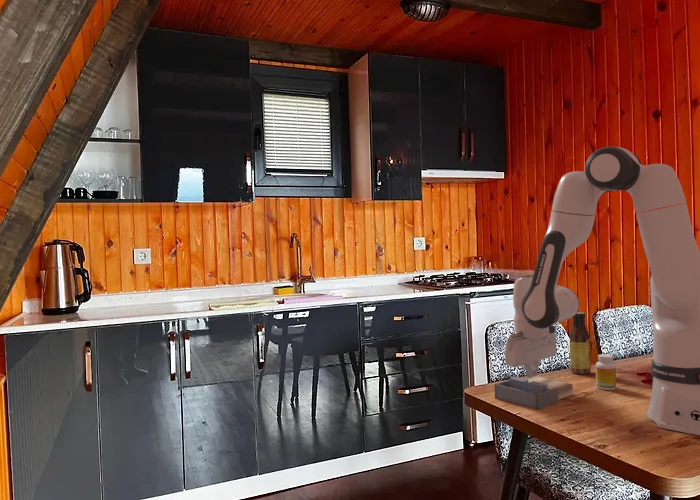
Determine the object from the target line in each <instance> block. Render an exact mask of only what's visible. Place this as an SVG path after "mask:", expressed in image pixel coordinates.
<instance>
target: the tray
mask: <svg viewBox="0 0 700 500" xmlns="http://www.w3.org/2000/svg"><path fill="white" fill-rule="evenodd" d="M494 398H495V399H498V400H501V401H506V402H507V403H511V404H515V405H519V406H522V407H525V408H530V409H532V410H537V411H539V410H541V409H544V408H546V407H550V406H551V405H555V404H557V403H559V400H558V388H557V387H556V388H553V389H550V390H547V391H544V392H541V393H539V394H534V393H530V392H526V391H522V390H518V389H514V388H511V387H510V378H509V379H507V380H503V381H500V382H498V383H497V382H496V383H495V384H494Z"/></svg>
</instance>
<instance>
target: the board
mask: <svg viewBox="0 0 700 500" xmlns="http://www.w3.org/2000/svg"><path fill="white" fill-rule="evenodd" d="M526 380H528V382H531V381H536V382H540V383H544V384H547V390H550V389H553V388H556V387H557V388H558V401H559V400H562V399H564V398H567V397H570V396H572V395H573V394H574V393H573V389H574V388H573V387H574V386H573V384H572V383H570V382H564V381H559V380H555V379H552V378H546V377H542V376H538V375H537V376H534V377H531V378H530V377H527V378H526Z"/></svg>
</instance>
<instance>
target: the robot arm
mask: <svg viewBox="0 0 700 500" xmlns="http://www.w3.org/2000/svg"><path fill="white" fill-rule="evenodd" d="M683 190H684V189H683V186H682V185H681V183H680V179H679V178H678V175H677V174H676V171H675V170H674V168H673V167H672V166H671V165H669V164H665V163H652V164H646V165H645V164H642V162H641V160H640V158H639V156H637V154H635V153H634V152H632V151H630V150H629V149H627V148H624V147H620V146H611V145H610V146H604V147H601V148H599V149H597V150H595V151H594V152H592V153H591V155H589V156H588V158H587V160H586V162H585V166H584V171H583V170H581V171H580V170H574V171H570V172H567V173H565V174H563V175H562V176H561V178H560V179H559V182H558V185H557V187H556V190H555V193H554V197H553V200H552V201H553V202H552V206H551V212H550V217H549V222H548V226H547V230H546V233H545V235H544V237H543V240H542V242H541V245H540V249H539V252H538V255H537V260H536V264H535V268H534V270H533V274H529V275H524V276H519V277H518V278H516V279H515V281H514V283H513V290H512V291H513V293H512V295H513V297H512V301H513V308H514V316H513V317H514V318H513V322H514V323H513V326H514V327H513V328H514V333H511V334H509V337H508V338H507V340H506V343H505V353H504V362H505V365H506V366H508V367H511V368H512V367H513V368H518V367H522V366H523V368H524V370H525V373H526V374H525V376H526V377H527V378H531V377H535V376H538V370H539V367H540V363H541V362H540V361H542V360H544V359H550V358H552V357H554V356H555V355H556V353H557V336H556V332H557V326H556V325H554V324H558V323H561V322H565V321H568V320H569V319H573V318H572V317H573V316H575V315H576V313H577V312H579V309H580V301H579V297H578V295H577V294H576V293H575V292H574V290H572V289H571V288H569V287H565V286H562V285H559V284H558V281H559V278H560V273H561V270H562V266H563V263H564V261H565V260H566V258H567V257H568V256H569V255H570V254H571V252H573V251H574V250H575V249H577V248H578V247H579V246H581V245H582V244H584V243H585V242H586V241H587V240H588V238H589V237H590V235H591V232H592V230H593V227H594V223H595V217H596V212H597V205H598V202H599V199H600V197H601V196H602V195H603V194H604V193H606V194H607V193H609V192H610V193H611V192H612V193H613V192H615V191H616V192H617V191H624V192H627V193H628V194H629V195H630V196H631V199H632V203H633V204H634V205H633V206H634V210H635V211H634V212H635V214H636V215H635V216H636V221H637V224H638V228H639V233H640V238H641V241H642V246H643V248H644V252H645V255H646V259H647V264H648V266H649V270H650V278H649V279H650V280H649V283H650V284H649V287H650V288H649V289H650V304H651V305H650V306H651V307H650V310H651V320H652V349H653V351H652V352H653V353H652V354H653V357H652V360H651V363H650V364H651V367H650V369H651V370H650V374H651V375H650V376H651V381H652V388H651V395H650V396H651V397H650V401H649V404H648V405H649V406H648V408H647V412H646V416H647V418H648V419H650V420H651V421H652V422H655V423H656V425H657V426H658V427H659V428H661V429H665V430H671V431H675V432H681V433H686V434H689V435H695V436H700V249H699V246H698V244H697V240H696V238H695V235H694V231H693V230H694V229H693V225H692V222H691V217H690V214H689V209H688V204H687V200H686V197H685V193H684V191H683Z"/></svg>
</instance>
